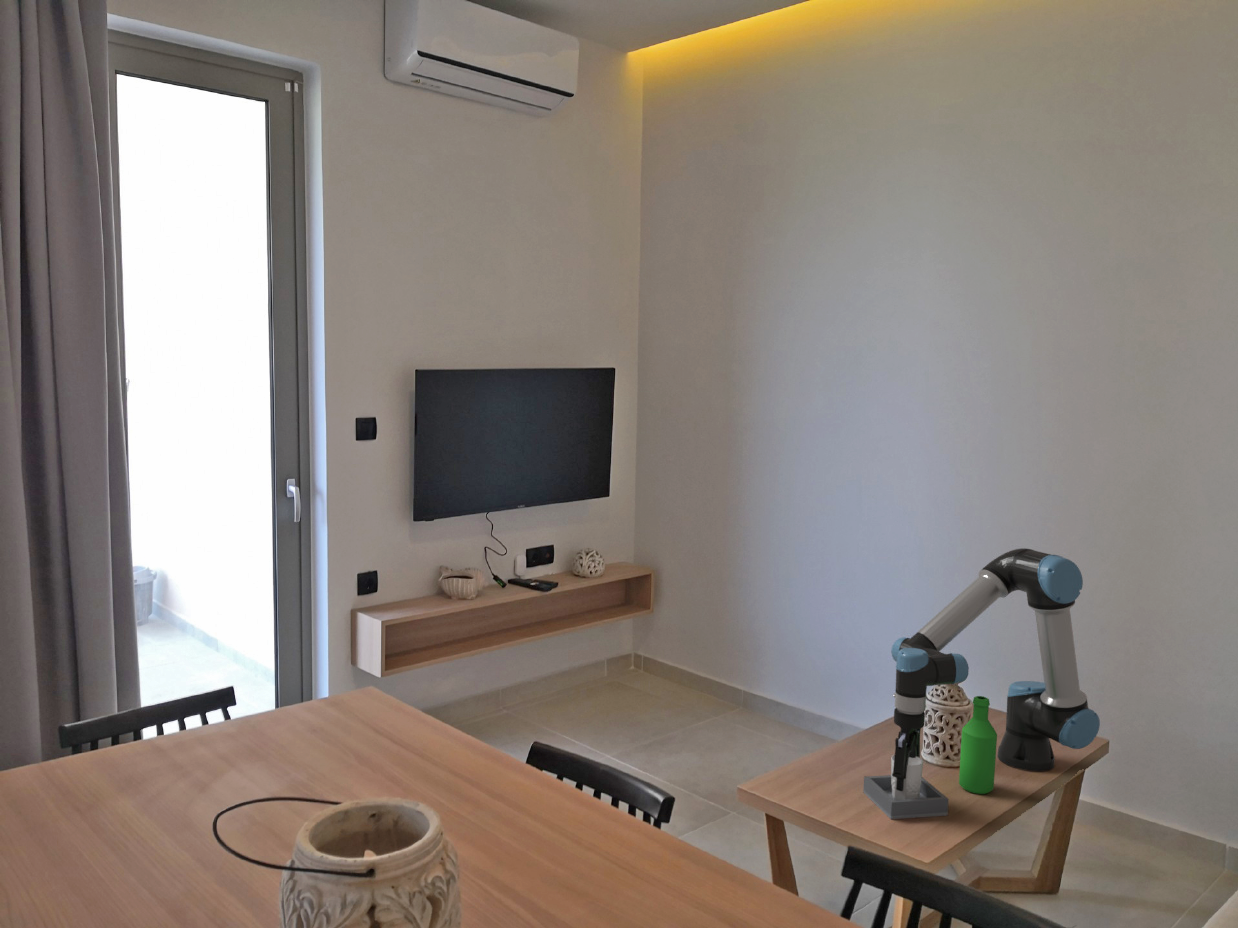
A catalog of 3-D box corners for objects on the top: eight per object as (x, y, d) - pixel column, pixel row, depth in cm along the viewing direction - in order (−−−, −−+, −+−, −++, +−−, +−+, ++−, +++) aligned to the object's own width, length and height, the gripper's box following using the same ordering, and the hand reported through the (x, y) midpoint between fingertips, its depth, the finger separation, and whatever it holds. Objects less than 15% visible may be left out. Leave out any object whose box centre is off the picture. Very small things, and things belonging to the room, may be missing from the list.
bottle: (960, 778, 260) (966, 690, 258) (994, 785, 256) (1000, 695, 254) (957, 790, 252) (962, 699, 250) (991, 798, 248) (997, 705, 246)
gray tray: (917, 788, 252) (917, 773, 252) (947, 815, 237) (948, 798, 237) (863, 792, 250) (864, 776, 249) (890, 819, 234) (891, 802, 234)
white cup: (922, 805, 239) (924, 767, 238) (890, 801, 240) (892, 763, 239) (919, 792, 246) (921, 754, 245) (888, 788, 248) (889, 752, 247)
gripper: (907, 695, 252) (902, 778, 254) (882, 717, 235) (877, 806, 237) (935, 701, 248) (931, 786, 250) (912, 724, 231) (907, 814, 233)
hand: (905, 795), depth 243 cm, fingers closed on white cup, 7 cm apart
